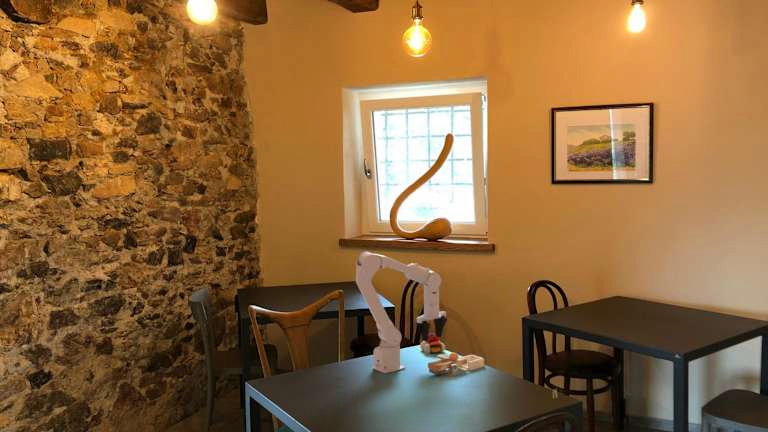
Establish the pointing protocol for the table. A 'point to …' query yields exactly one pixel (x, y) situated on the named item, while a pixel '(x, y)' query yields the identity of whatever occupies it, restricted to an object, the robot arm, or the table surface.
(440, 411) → the table surface
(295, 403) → the table surface
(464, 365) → the tan shallow rectangular box
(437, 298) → the robot arm
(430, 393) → the table surface
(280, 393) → the table surface
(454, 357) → the ball
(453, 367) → the mount
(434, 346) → the colorful rounded pieces cluster
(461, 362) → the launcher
